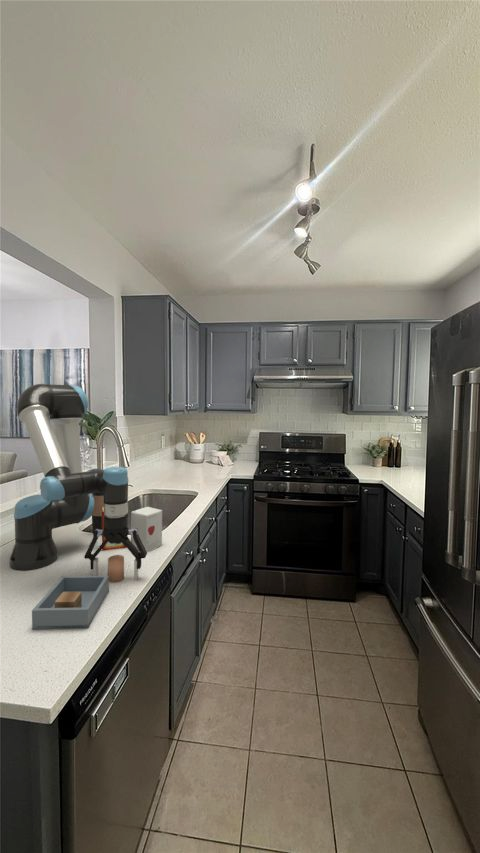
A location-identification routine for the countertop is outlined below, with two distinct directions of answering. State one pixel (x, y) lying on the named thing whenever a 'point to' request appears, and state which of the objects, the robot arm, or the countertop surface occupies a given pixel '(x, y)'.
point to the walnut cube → (69, 600)
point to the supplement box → (147, 527)
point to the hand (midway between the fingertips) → (116, 578)
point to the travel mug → (97, 511)
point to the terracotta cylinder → (116, 568)
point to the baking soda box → (108, 545)
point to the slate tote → (67, 618)
